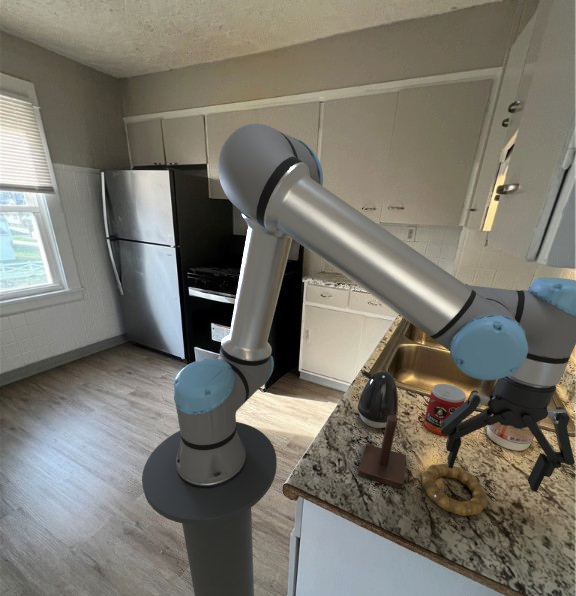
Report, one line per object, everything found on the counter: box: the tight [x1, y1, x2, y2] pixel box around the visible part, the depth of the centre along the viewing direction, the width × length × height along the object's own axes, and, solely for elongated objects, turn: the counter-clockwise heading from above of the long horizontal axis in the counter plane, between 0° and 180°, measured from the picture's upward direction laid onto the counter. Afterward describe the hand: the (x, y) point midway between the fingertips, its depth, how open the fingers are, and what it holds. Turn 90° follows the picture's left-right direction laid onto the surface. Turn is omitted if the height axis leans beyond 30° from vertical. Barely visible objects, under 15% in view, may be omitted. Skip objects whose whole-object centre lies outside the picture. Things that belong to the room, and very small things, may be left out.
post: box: [358, 415, 407, 490], centre depth 67 cm, size 9×9×14 cm
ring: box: [421, 463, 488, 517], centre depth 64 cm, size 12×12×2 cm
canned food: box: [423, 383, 467, 436], centre depth 81 cm, size 8×8×11 cm
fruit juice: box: [486, 385, 557, 452], centre depth 74 cm, size 9×9×28 cm
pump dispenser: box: [357, 369, 399, 429], centre depth 81 cm, size 10×10×15 cm
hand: (489, 474), depth 59 cm, fingers open, 13 cm apart
